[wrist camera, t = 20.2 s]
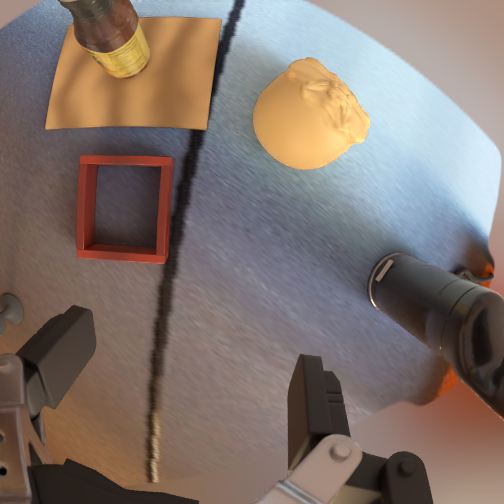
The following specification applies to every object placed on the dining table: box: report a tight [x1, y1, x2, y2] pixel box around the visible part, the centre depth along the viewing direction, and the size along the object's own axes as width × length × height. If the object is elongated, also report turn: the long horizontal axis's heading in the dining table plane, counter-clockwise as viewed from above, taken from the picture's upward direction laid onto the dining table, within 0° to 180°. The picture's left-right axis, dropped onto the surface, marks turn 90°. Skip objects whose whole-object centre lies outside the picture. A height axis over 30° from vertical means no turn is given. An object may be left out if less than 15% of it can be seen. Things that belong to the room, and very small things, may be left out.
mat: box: [45, 17, 222, 130], centre depth 33 cm, size 22×16×1 cm
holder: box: [76, 155, 175, 264], centre depth 35 cm, size 11×12×4 cm
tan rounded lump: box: [253, 57, 370, 170], centre depth 32 cm, size 11×12×11 cm
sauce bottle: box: [58, 0, 151, 79], centre depth 22 cm, size 6×6×20 cm
